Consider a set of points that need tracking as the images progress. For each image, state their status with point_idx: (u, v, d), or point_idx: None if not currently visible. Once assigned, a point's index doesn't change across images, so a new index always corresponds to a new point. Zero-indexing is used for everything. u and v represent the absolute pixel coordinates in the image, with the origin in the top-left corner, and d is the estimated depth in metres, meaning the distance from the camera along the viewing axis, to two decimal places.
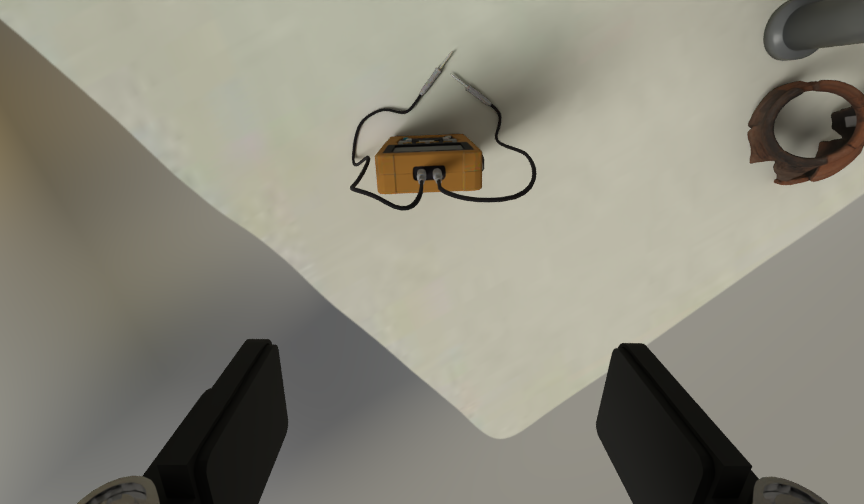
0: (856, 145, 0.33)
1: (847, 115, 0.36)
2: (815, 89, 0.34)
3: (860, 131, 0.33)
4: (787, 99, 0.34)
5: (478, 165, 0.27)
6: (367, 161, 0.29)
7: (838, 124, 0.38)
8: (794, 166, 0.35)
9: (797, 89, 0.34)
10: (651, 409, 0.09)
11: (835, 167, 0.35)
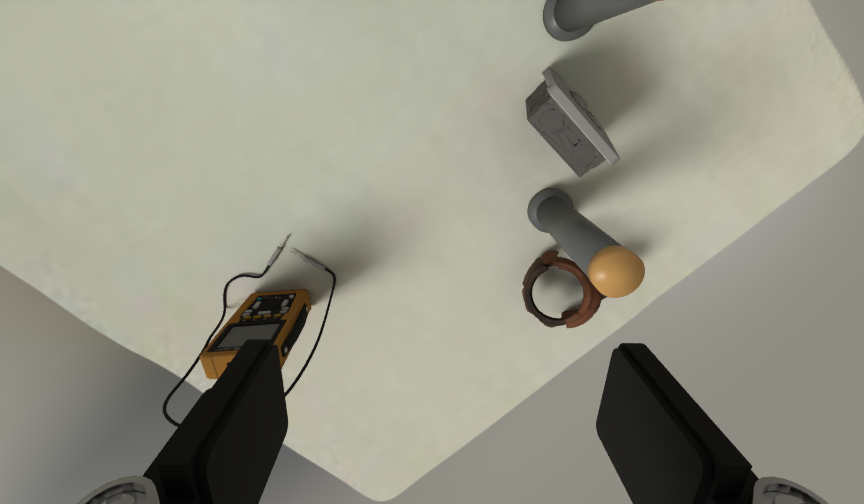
0: (581, 313, 0.44)
1: None
2: (558, 266, 0.46)
3: (583, 303, 0.44)
4: (537, 274, 0.46)
5: None
6: (203, 349, 0.40)
7: None
8: (545, 323, 0.46)
9: (544, 267, 0.45)
10: (651, 409, 0.09)
11: (577, 322, 0.46)
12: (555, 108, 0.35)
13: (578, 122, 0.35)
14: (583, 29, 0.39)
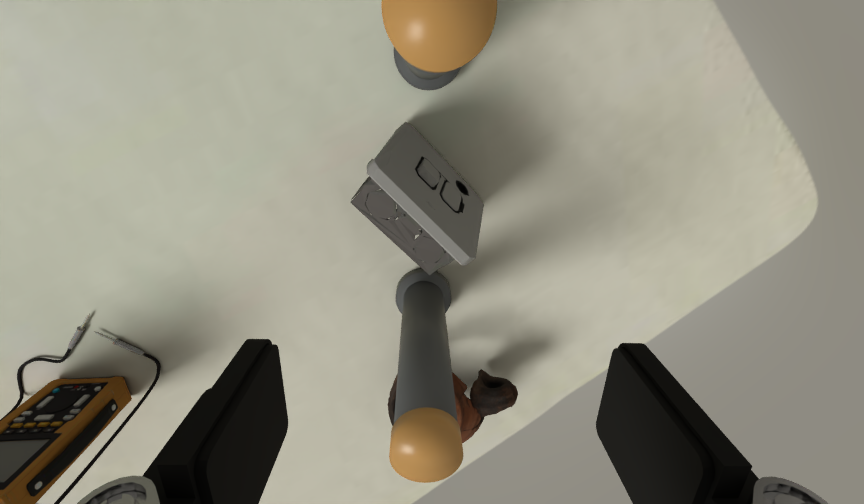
0: None
1: None
2: None
3: None
4: None
5: None
6: None
7: None
8: None
9: None
10: (651, 409, 0.09)
11: None
12: (382, 190, 0.26)
13: (410, 211, 0.25)
14: (445, 77, 0.29)
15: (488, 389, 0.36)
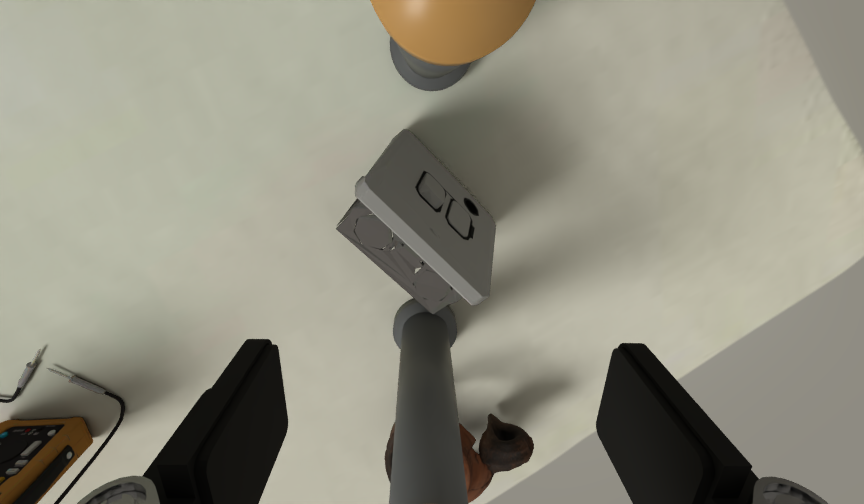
0: None
1: None
2: None
3: None
4: None
5: None
6: None
7: None
8: None
9: None
10: (651, 409, 0.09)
11: None
12: (375, 214, 0.21)
13: (409, 242, 0.20)
14: (451, 75, 0.25)
15: (500, 442, 0.31)
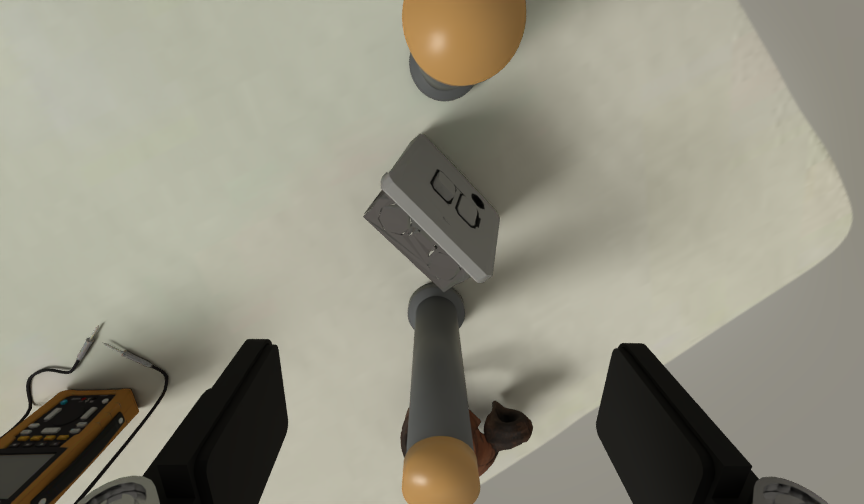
0: None
1: None
2: None
3: None
4: None
5: None
6: None
7: None
8: None
9: None
10: (651, 409, 0.09)
11: None
12: (396, 204, 0.25)
13: (425, 227, 0.24)
14: (461, 88, 0.29)
15: (502, 423, 0.35)
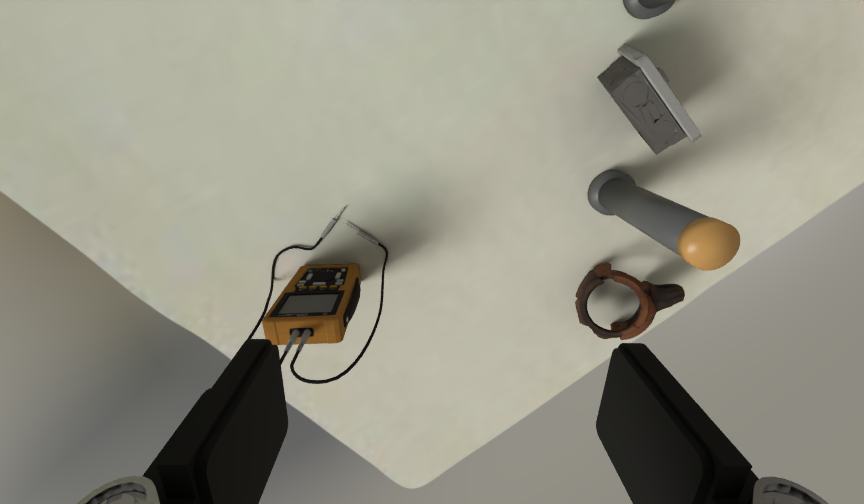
0: (638, 326, 0.45)
1: (647, 288, 0.48)
2: None
3: (640, 316, 0.45)
4: (593, 287, 0.47)
5: (337, 327, 0.38)
6: (262, 315, 0.40)
7: (646, 291, 0.50)
8: (601, 335, 0.47)
9: (599, 280, 0.46)
10: (651, 409, 0.09)
11: (632, 334, 0.47)
12: (640, 81, 0.35)
13: (664, 95, 0.34)
14: (663, 6, 0.39)
15: (663, 288, 0.46)
